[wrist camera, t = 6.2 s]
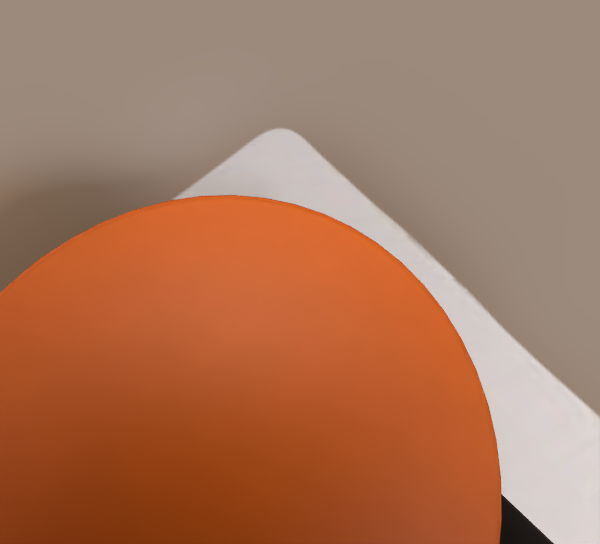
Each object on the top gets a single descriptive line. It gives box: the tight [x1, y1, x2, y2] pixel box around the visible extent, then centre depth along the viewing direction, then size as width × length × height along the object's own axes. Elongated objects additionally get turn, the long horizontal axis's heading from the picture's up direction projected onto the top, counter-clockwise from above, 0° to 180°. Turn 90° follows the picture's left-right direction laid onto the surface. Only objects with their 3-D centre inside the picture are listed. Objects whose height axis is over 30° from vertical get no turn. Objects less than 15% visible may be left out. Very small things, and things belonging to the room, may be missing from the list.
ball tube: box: [0, 195, 502, 544], centre depth 8 cm, size 4×4×11 cm
